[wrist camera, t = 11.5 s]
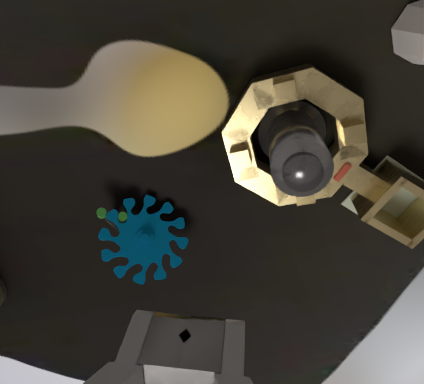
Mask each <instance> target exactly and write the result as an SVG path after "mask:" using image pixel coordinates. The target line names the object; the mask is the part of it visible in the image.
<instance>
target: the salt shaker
mask: <svg viewBox="0 0 424 384" xmlns="http://www.w3.org/2000/svg"><path fill="white" fill-rule="evenodd" d="M391 31H392V40H393V48H394V53H395V54H397V55H399V56H401V57H402V58H404V59H406V60H408V61H409V62H411V63H413V64H421V65H424V0H420V1H417V2H414V3H411V4H408V5H407V6H406V8H405V9H404V11H403V12H402V14H401V15H400V17H399V18H398V20H397V21H396V22H395V24H394V25H393V27H392V28H391Z"/></svg>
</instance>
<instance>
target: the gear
mask: <svg viewBox="0 0 424 384" xmlns="http://www.w3.org/2000/svg"><path fill="white" fill-rule="evenodd" d="M154 203H155V198H154V197H152V196H149V195H146V196H145V198H144V206H143V209H142V211H141V212H140V213H139V214H138V215H133V214H132V213H131V209H132V208H133V207H134V205H135V199H133V198H128V199H124V201H123V205H124V207H125V208H126V210H127V214H126V213H125V212H120V213H119V212H118V211H117V210H115V209H111V210H108V211H107V212H106V210H105V209H104V208H99V209H98V210H97V216H98V217H99V218H101V219H103V218H105V219H106V221H107V222H108V223H109V224H110V225H112V226H113V227H115V228H116V229H117V230H119V232H120V234H119V236H118V237H112V236H111V235H110V232H109V230H108V229H106V228H102V229H101V231H100V233H99V236H98V238H99V239H100V240H110V241H113V242H115V243H116V244H118V245H119V246H120V251H119V252H118V253H113V252H112V251H110V250H108V249H104V250H102V260H103V261H109V260H110V259H112V258H114V257H126V258H128V260H129V263H128V265H126V266H117V267H115V268H114V273H115V274H116V276H117V277H118V278H122V277H123V276H124V275H125V273H126V271H127V270H128V269H129V268H130V267H131V266H133V265H135V264H141V265H142V271H141V272H140V273H137V274H135V275H134V277H133V281H134V282H136V283H138V284H142V285H143V284H144V282H145V273H146V270H147V268H148V266H149V265H150V264H151V263H152V262H155V263H157V265H158V268H157V270H156V271H155V273H154V279H155V280H162V279H165V278H166V273H165V271H164V270H163V267H162V256H163V255H164V254H169V255H170V265H171V266H172V267H173V268H175V267H177V266H179V265H180V264H181V263H182V259H181V258H180V257H178V256H176V255H175V254H174V253H173V252H172V251H171V249H170V246H169V242H170V241H171V240H174V241H176V243H177V245H178V247H179V248H180V249H185V248H186V246H187V244H188V239H187V238H186V237H176V236H174V235H172V234H171V233H170V232H169V231H168V227H169V226H174V227H175V228H177V229H183V228H184V227H185V222H184V218H182V217H180V218H178V219H176V220H174V221H170V222H166V221H162V220H161V219H160V214H162V213H164V214H170V213H171V212H172V211H173V210H174V209H173V207H172V205H171V204H170V203H169V202H166V203H164V205H163V206H162V208H161V209H160V210H159V211H158V212H156V213H154V214H148V213H147V211H146V209H147V208H148V207H150V206H152V205H153V204H154Z"/></svg>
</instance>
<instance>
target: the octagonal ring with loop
mask: <svg viewBox="0 0 424 384" xmlns="http://www.w3.org/2000/svg"><path fill="white" fill-rule="evenodd" d="M302 99H307V100H308V101H310V102H312V103H313V104H315V105H317V106H318V107H320V108H321V109H323V110H325V111H326V112H328V113H330V114H331V118H332V126H333V133H334V142H333V144H332V145H331V146H330V147H329V149H328V150H329V152H330V154H331V156H332V159H333V162H334V172H333V176H332V178H331V180H330V182H329V183H328V184H327V185H326V186H325V187H324V188H323V189H322V190H321V191H319V192H318V193H316V194H313V195H310V196H306V197H294V196H290V195H287V194H285V193H283V192H282V191H280V190H279V189H278V188H277V187H276V185H275V184H274V182H273V180H272V177H271V170H270V165H268V164H266V163H265V162H263V161H261V160H259V159H258V158H257V156H256V152H255V148H254V144H253V140H252V136H251V134H252V133H253V131H254V130H255V128H256V127H257V125H258V123H259V122H260V120H261V119H262V117H263V116H264V114H265V113H266V111H267V110H268V108H270V107H274V106H278V105H282V104H286V103H290V102H294V101H298V100H302ZM222 136H223V139H224V143H225V147H226V150H227V154H228V157H229V161H230V164H231V168H232V172H233V175H234V179H235V182H237V183H238V184H240V185H242V186H244V187H246V188H247V189H249V190H251V191H253V192H255V193H256V194H258V195H260V196H262V197H264V198H266V199H267V200H269V201H271V202H273V203H275V204H276V205H278V206H283V205H288V204H293V203H297V206H300V205H305V204H310V203H315V199H320V198H326V197H331V196H333V195H334V193H335V192H336V191H337V190H338V189H339V188H340V187H341V185H342V184H343V185H345V186H347V187H348V188H350V189H352V190H353V191H355V192H356V193H355V194H354V195H353V197H352V198H351V201H352V203H353V205H354V207H355V209H356V211H357V213H358V215H359V217H360V219H361V220H362V221H364V222H366V223H368V224H369V225H371V226H373V227H375V228H377V229H378V230H380V231H382V232H384V233H385V234H387V235H389V236H391V237H392V238H394V239H396V240H398V241H399V242H401V243H403V244H405V245H406V246H408V247H410V248H412V249H413V248H414V247H415V246H416V245H417V244H418V243H419V242H420V241H422V240H423V239H424V181H422V180H421V179H419V178H417V177H416V176H414V175H413V174H411V173H409V172H408V171H406V170H404V169H403V168H401V167H399V166H398V165H396V164H394V163H393V162H391V161H390V160H388V159H386V160H385V161H384V162H383V163H382V164H381V165H380V166H379V168H378V169H377V170H376V171H375V170H373V169H371V168H370V167H368V166H366V165H365V164H363V163H361V162H362V161H363V160H364V159H365V158H366V156H367V155H368V146H367V135H366V124H365V113H364V102H363V99H362V98H361V97H360V96H359V95H358V94H357V93H356V92H354V91H353V90H351V89H349V88H348V87H346V86H345V85H343V84H342V83H340V82H338V81H337V80H335V79H334V78H332V77H331V76H329V75H327V74H326V73H324V72H323V71H321V70H319V69H318V68H316V67H315V66H313V65H312V64H310V63H307V64H303V65H299V66H295V67H292V68H288V69H284V70H280V71H277V72H273V73H269V74H266V75H262V76H258V77H254V78H252V79H251V80H250V82H249V84H248V85H247V87H246V89H245V90H244V92H243V94H242V95H241V97H240V99H239V100H238V102H237V104H236V105H235V107H234V109H233V110H232V112H231V114H230V115H229V117H228V119H227V120H226V122H225V124H224V125H223V130H222ZM401 187H403V188H404V189H406V190H408V191H409V192H411V193H413V194H414V195H416V196H418V198H417V199H416V200H415V201H414V202H413V203H412V204H411V205H410V206H409V207H408V208H407V209H406V210H405V211H404V212H403V213H402V214H401V215H400V216H399V217H398V218H397V217H395V216H393V215H392V214H390V213H388V212H387V211H385V210H383V209H381V208H382V207H383V206H384V205H385V204H386V203H387V202H388V201H389V200H390V199H391V198H392V197H393V196H394V195H395V194H396V193H397V192H398V190H399V189H400V188H401Z"/></svg>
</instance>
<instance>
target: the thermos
mask: <svg viewBox="0 0 424 384" xmlns="http://www.w3.org/2000/svg"><path fill="white" fill-rule="evenodd" d="M6 298H7V289H6V286H5V284H4V282H3V281H2V280H1V278H0V306H1V305H2V304H3V303H4V301H5V299H6Z"/></svg>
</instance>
